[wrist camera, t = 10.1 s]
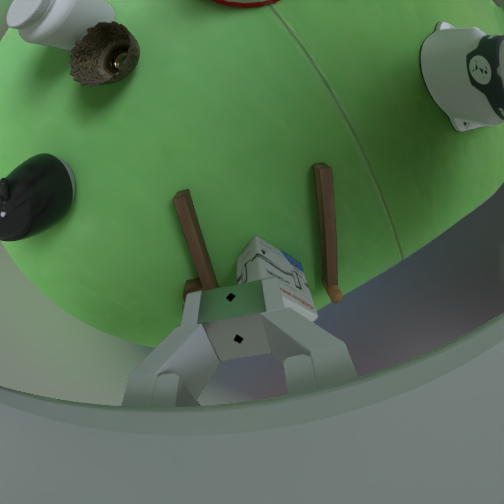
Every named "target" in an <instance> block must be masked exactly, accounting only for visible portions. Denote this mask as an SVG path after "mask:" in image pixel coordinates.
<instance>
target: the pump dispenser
mask: <svg viewBox="0 0 504 504" xmlns="http://www.w3.org/2000/svg"><path fill="white" fill-rule="evenodd" d="M75 189H76V186H75V178H74V175H73V172H72V170H71V168H70V167H69V165H68V164H67V163H66V162H65V161H64V160H62V159H61V158H59V157H57V156H54V155H51V154H46V153H42V154H38V155H35V156H33V157H31V158H29V159H27V160H26V161H24V162H23V163H22V164H20V165H19V166H18V167H16V168H15V169H14V170H13V171H12V172H11V173H10V174H9V175H8V176H7V177H6V178H2V179H1V180H0V240H1V241H18V240H22V239H26V238H29V237H32V236H35V235H37V234H40V233H42V232H44V231H46V230H48V229H50V228H51V227H53V226H55V225H56V224H58V223H59V222H61V221H62V220H63V219H64V218H65V217H66V216H67V214H68V212H69V210H70V208H71V205H72V203H73V200H74V196H75Z"/></svg>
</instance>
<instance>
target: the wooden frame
mask: <svg viewBox="0 0 504 504" xmlns="http://www.w3.org/2000/svg"><path fill="white" fill-rule="evenodd" d="M313 171H314V179H315V188H316V197H317V207H318V217H319V228H320V241H321V255H322V272H323V277H322V281H323V285H324V287H325V289H326V291H327V294H328V295H329V297H330V299H331V301H332V302H333V303H337V302H340V301H341V300H342V297H343V295H342V293H341V291H340V289H339V287H338V272H337V237H336V218H335V203H334V190H333V179H332V169H331V167H330V166H328V165H326V164H325V163H318V164H313ZM173 201H174V204H175V208H176V211H177V214H178V217H179V220H180V223H181V226H182V229H183V232H184V235H185V238H186V241H187V244H188V247H189V250H190V253H191V256H192V259H193V262H194V264H195V267H196V270H197V273H198V276H199V278H198V279H193V280H187V281H186V285H185V289H184V294H183V299H184V302H185V300H186V296H187V294H188V293H191V292H196V291H203V290H207V289H213V288H219V286H218V283H217V280H216V277H215V274H214V271H213V268H212V265H211V261H210V258H209V255H208V252H207V249H206V246H205V242H204V239H203V236H202V233H201V229H200V226H199V223H198V219H197V216H196V212H195V209H194V206H193V202H192V199H191V195H190V192H189V189H187V190H183V191H179V192H177V194H176V195H175V197H174V198H173ZM184 305H185V304H184ZM184 305H183V308H182V313H183V310H184Z"/></svg>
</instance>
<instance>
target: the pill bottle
mask: <svg viewBox="0 0 504 504" xmlns="http://www.w3.org/2000/svg"><path fill="white" fill-rule="evenodd" d="M112 21H114V22H115V12H114V10H113V8H112V7H111V6H110V5H109V4H108V3H107V2H105V1H104V0H14V1H13V3H12V4H11V6H10V9H9V11H8V14H7V24H8V26H9V27H10V28H15V29H18V31H19V35H20V36H21V38H22V39H23V40H25V41H26V42H29V43H34V44H40V45H46V46H51V47H56V48H60V49H65V50H69V51H70V50H71V49H72V48H73V47H75V46H76V45H75V42H76V41H80V40H82V39H83V37H84V36H86V35H87V34H88V33H87V29H88V28H90V27H94V26H95V25H96V24H97V23H98V22H109V23H111V22H112Z"/></svg>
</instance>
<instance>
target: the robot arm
mask: <svg viewBox="0 0 504 504" xmlns="http://www.w3.org/2000/svg"><path fill="white" fill-rule="evenodd" d="M421 67H422V73H423V77H424V80H425V83H426V85H427V88H428V90H429V92H430V94H431V96H432V97H433V99H434V100H435V102H436V103H437V104H438V106H439V107H440V108H441V109H442V110H443V111H444V112H445V113H446V114H447V115H448V116H449V118H450V120H451V122H452V125H453V126H454V128H455V129H456V130H457V131H461V132H463V131H467V130H471V129H475V128H479V127H483V126H488V127H493V126H494V125H497V124H500V123H502V122H504V35H500V34H493V35H486V34H485V33H484V32H482V31H481V30H479V29H478V28H476V27H462V28H455V27H454V26H452V25H450V24H448V23H447V22H439V23H438V24H437V27H436V30H435V32H434V33H433V34H431V35H430V36H429V37H428V38H427V39H426V40H425V42H424V44H423V46H422V50H421ZM268 353H271V354H272V355H273V356H274V357H275V358H276V359H277V360H278V361H279V362H280V363H281V364H282V365H283V366H284V370H285V377H286V383H287V390H288V395H284V396H279V397H273V398H267V399H261V400H254V401H247V402H238V403H230V404H220V405H207V406H201V405H200V404H199V403H198V401H197V399H198V397H199V396H200V394H201V392H202V391H203V390H204V388H205V386H206V385H207V383H208V382H209V380H210V378H211V377H212V375H213V374H214V372H215V370H216V369H217V367H218V365H219V364H220V361H225V360H231V359H237V358H242V357H249V356H256V355H263V354H268ZM0 504H504V313H502V314H501V315H499V316H497V317H496V318H494V319H492V320H491V321H489V322H487V323H486V324H484V325H482V326H480V327H478V328H477V329H475V330H473V331H471V332H469V333H467V334H465V335H463V336H461V337H460V338H458V339H455V340H453V341H451V342H450V343H447V344H445V345H443V346H441V347H439V348H436V349H434V350H432V351H430V352H427V353H425V354H422V355H420V356H417V357H415V358H412V359H410V360H408V361H405V362H402V363H400V364H397V365H394V366H392V367H389V368H386V369H383V370H380V371H377V372H374V373H371V374H368V375H365V376H361V377H357V374H356V372H355V368H354V366H353V363H352V361H351V358H350V356H349V353H348V350H347V348H346V345H345V343H344V342H342V341H341V340H339V339H338V338H336V337H334V336H333V335H331V334H330V333H328V332H327V331H325V330H323V329H322V328H321V327H319V326H317V325H316V324H314V323H313V322H311V321H310V320H308V319H307V318H305V317H304V316H302V315H301V314H299V313H297V312H296V311H294V310H293V309H291V308H290V307H288V308H285V307H284V303H283V298H282V294H281V290H280V285H279V281H278V277H277V276H272V277H268V278H264V279H262V280H257V281H252V282H247V283H242V284H238V285H233V286H232V285H231V286H225V287H219V288H213V289H207V290H203V291H196V292H191V293H188V294H187V296H186V300H185V305H184V310H183V315H182V320H181V325H180V327H176V328H175V329H174V330H173V331H172V332H171V333H170V334H169V335H168V336H167V337H166V338H165V339H164V340H163V341H162V342H161V343H160V344H159V345H158V346H157V347H156V348H155V349H154V350H153V351H152V352H151V353H150V354H149V355H148V356H147V357H146V358H145V359H144V360H143V361H142V362H141V363H140V364H139V365H138V366H137V367H136V368H135V369H134V371H132V373H131V374H130V375H129V379H128V383H127V386H126V390H125V394H124V398H123V402H122V406H109V405H98V404H88V403H79V402H72V401H66V400H60V399H54V398H49V397H43V396H39V395H33V394H29V393H25V392H21V391H17V390H13V389H9V388H6V387H2V386H0Z"/></svg>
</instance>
